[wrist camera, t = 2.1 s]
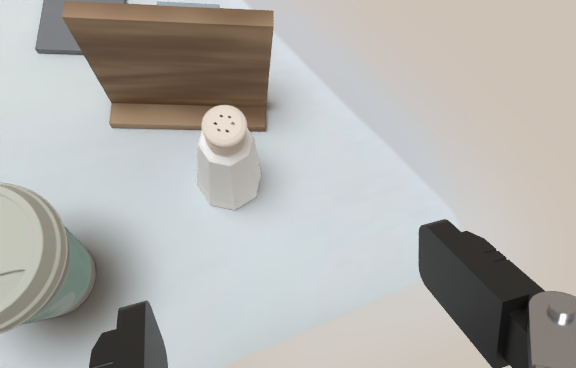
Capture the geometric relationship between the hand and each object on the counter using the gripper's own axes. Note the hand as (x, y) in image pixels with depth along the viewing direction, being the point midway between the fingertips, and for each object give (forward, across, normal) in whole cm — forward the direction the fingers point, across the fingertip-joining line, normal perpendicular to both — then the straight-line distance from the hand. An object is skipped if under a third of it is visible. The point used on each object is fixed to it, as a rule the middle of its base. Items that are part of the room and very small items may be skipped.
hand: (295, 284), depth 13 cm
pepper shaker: (+25, 0, -9) cm, 26 cm away
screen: (+30, -2, -3) cm, 30 cm away
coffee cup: (+22, -14, -12) cm, 29 cm away
